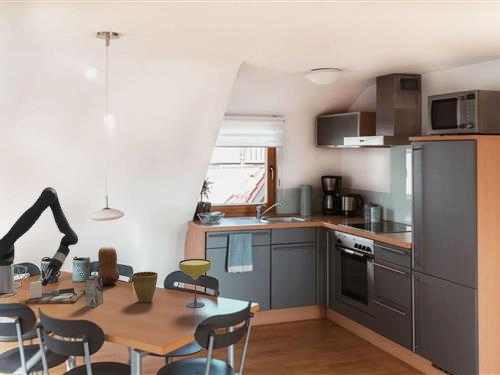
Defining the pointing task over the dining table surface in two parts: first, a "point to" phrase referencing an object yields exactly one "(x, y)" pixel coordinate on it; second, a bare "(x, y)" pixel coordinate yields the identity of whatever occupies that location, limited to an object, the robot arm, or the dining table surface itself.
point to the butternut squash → (108, 265)
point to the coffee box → (94, 290)
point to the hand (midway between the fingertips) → (43, 285)
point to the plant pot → (145, 285)
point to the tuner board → (57, 298)
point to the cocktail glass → (195, 274)
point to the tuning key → (37, 292)
